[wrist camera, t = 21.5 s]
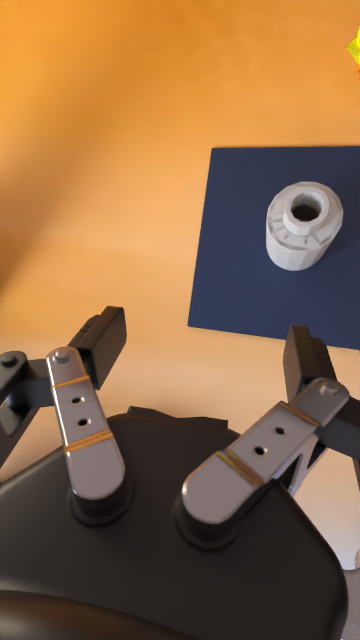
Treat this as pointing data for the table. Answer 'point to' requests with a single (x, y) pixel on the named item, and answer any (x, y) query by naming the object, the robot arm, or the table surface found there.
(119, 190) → the table surface
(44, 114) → the table surface
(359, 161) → the paper sheet
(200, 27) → the table surface
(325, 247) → the white vase
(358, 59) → the toy figure
